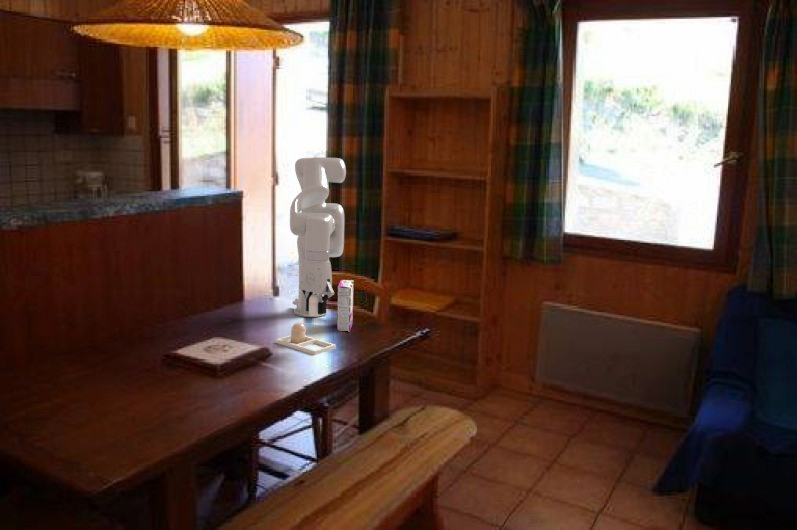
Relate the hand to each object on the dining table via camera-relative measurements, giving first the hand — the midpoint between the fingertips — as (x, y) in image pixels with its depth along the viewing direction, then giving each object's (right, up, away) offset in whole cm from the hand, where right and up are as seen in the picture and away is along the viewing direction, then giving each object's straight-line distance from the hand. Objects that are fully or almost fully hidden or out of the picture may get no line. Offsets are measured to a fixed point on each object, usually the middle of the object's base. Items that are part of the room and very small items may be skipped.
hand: (316, 311), depth 229 cm
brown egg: (-7, -11, +8) cm, 15 cm away
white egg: (0, -1, 0) cm, 1 cm away
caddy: (-4, -12, +5) cm, 14 cm away
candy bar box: (+7, -8, +30) cm, 32 cm away
